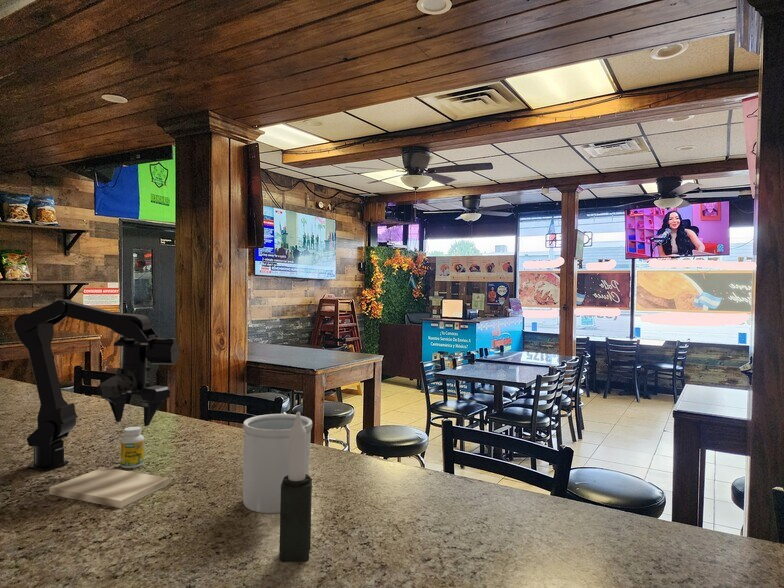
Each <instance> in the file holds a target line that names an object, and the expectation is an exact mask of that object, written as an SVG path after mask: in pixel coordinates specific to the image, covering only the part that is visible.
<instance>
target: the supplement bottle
mask: <svg viewBox="0 0 784 588" xmlns="http://www.w3.org/2000/svg"><path fill="white" fill-rule="evenodd" d="M141 433H142V426H129V427H125V428H124V429H123V435H124V436H123V437H122V438H121V439H120V467H121V468H123V469H135V468H139V467H141V466H143V465H144V462H145V436H144V435H142V434H141Z"/></svg>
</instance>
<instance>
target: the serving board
mask: <svg viewBox="0 0 784 588" xmlns="http://www.w3.org/2000/svg"><path fill="white" fill-rule="evenodd" d="M169 485H170V477H167V476H166V477H165V476H159V475H152V474H147V473H141V472H135V471H130V470H124V469H123V470H122V469H117V468H111V467H105V466H102V467H100V468H97V469H94V470H93V471H90V472H87V473H84V474H81V475H79V476H76V477H74V478H71V479H69V480H65V481H63V482H61V483H58V484H56V485H53V486H50V487H49V488H48V489H49V494H48V495H52V496H56V497H61V498H65V499H72V500H77V501H82V502H89V503H93V504H97V505H101V506H102V505H104V506H108V507H114V508H117V509H121V508H124V507H125V506H128V505H130V504H132V503H135V502H136V501H138V500H140V499H142V498H144V497H146V496H148V495H150V494H152V493H154V492H156V491H159V490H160V489H163V488H165V487H167V486H169Z"/></svg>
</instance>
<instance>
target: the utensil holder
mask: <svg viewBox="0 0 784 588" xmlns="http://www.w3.org/2000/svg"><path fill="white" fill-rule="evenodd" d="M300 418H301V421H302V425H303V427H304V428H305V430H306V466H305V474H307V475H309V472H310V454H311V453H310V452H311V439H312V438H311V433H312V428H313V420H312V419H311V418H310V417H307V416H303V415H300ZM295 419H296V414H291V413H270V414H263V415H262V414H261V415H256V416H252V417H249V418H246V419H245V420H244V421H243V424H242V426H243V427H242V429H243V431H244V433H243V434H244V436H243V437H244V438H243V440H244V441H243V472H242V475H243V478H242V479H243V481H242V489H243V490H242V492H243V493H242V494H243V495H242V498H243V500H242V501H243V502H242V503H243V505H244V507H245V508H246V509H248V510H250V511H253V512H256V513H262V514H280V502H281V484H282V481H283V479H284V477H285V476H287V475H288V471H289V432H290V430H291V428H292V427H293V425H294V422H295ZM309 476H310V475H309Z"/></svg>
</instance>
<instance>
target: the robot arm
mask: <svg viewBox="0 0 784 588" xmlns="http://www.w3.org/2000/svg"><path fill="white" fill-rule="evenodd" d="M66 317H67V318H69V319H70V318H71V319H73V320H78V321H81V322H86V323H90V324H94V325H97V326H101V327H105V328H107V329H110V330H111V331H112V332H114V333H116V334H118V335H120V338H119V339H118V340H116V341H115V342H113V346H114V347H122V349H121V351H122V352H121V353H122V355H121V356H122V357H121V367H118V368H117V370H116V375H114V376H112V377H110V378H108V379H106V380H105V381H102V382H100V383H99V384H98V386H97V388H96V395H98V396H100V398H102V399H104V400H105V401H107V403H108V404H109V406H110V408H111V410H112V411H111V412H112V414H113V416H114V419H115V422H116V423H121V421H122V418H123V415H124V410H125V404H126V400H127V396H128V394H129V395H136V396H140V397H141V399H142V400H140V401H139V402H140V404H141V405H142V406H143V424H144V427H148V426H150V424H151V422H152V419H153V418H154V416H155V414H156V412H157V410H158V409H159V407H160V406H161V404H162V403H163V402H164V401H166V399H168V398H171V389H170V388H169V387H168V386H164V385H153V386H150V385H151V383H150V381H147V372H150V371H151V366H148V364H147V363H148V362H150V363H149V364H151V365H176V364H177V362H178V361H179V356H180V350H179V346H178V343H177V338H176V337H170V338H160V337H159V335H158V333H157V332H156V331H155V330H154V328H153V327H152V323H151V320H150V319H149V317H148V316H147V315H144V314H138V313H136V314H135V313H124V312H123V313H121V312H114V311H110V310H107V309H106V310H105V309H102V308H98V307H95V306H90V305H87V304H83V303H80V302H77V301H73V300H72V299H57V300H55V301H54V302H52V303H50V304H49V305H48V304H47V305H46V306H43V307H41V308H38V309H36V310H34V311H32V312H29V313H27V312H26V313H22V314H19V316H17V317H16V319H15V320H14V321H13V330H14V331H15V333H16V336H17V338H18V340H19V341H20V342H21V344H22V345H23V346H24V347H25V348H26V349H27V351H28V356H29V359H30V364H31V368H32V373H33V378H34V382H35V385H36V391H37V395H38V398H39V403H40V407H39V409H38V413H37V416H36V419H37V420H36V421H37V428H36V429H35V430H34V431H33V432H32V433H31V434H30V435H28V436H27V437H26V442H27V445H28V447H33V463H32V464H28V465H27V468H28V469H32V470H39V471H46V472H47V471H49V470H52V469H55V468H57V467H61V466H64V465H66V464H69V463H70V461H69V460H65V447H64V442H65V441H64V440H63V439H65V438H68V436H69V434H70V431H72V430H73V429H74V428H75V427H76V425H77V418H79V416H78V414H77V413H76V406H75V403H74V402H72V403H69V404H68V402H67V401H66V400H65V398H64V396H63V394H62V393H63V392H62V388H61V385H60V380H59V377H58V371H57V366H56V362H55V358H54V354H53V351H52V341H53V339H54V338H53V337H54V334H55V333H54V328H55V327H54V326H55V325H57V324H59V323H61V322H62V321H63V320H64V319H66Z"/></svg>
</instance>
